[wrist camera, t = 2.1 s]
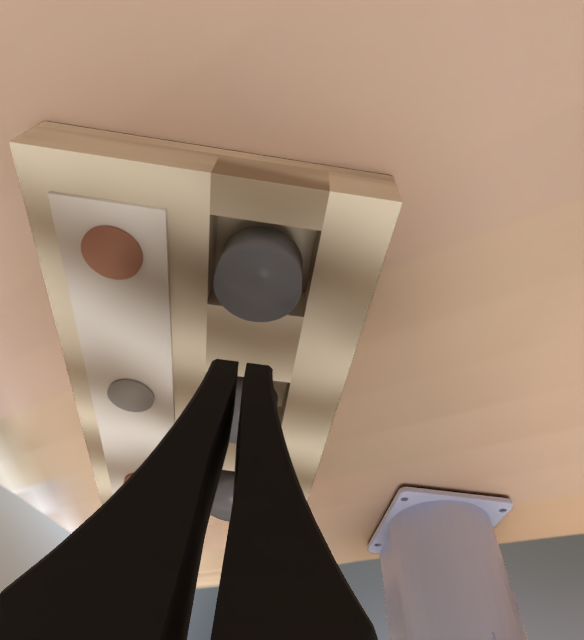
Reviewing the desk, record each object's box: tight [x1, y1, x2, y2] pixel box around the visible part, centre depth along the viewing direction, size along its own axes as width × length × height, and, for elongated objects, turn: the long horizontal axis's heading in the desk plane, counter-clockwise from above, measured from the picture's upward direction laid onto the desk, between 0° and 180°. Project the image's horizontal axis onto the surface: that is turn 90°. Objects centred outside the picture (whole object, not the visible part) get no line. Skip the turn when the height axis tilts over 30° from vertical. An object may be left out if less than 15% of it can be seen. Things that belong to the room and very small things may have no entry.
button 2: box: [210, 470, 235, 521], centre depth 27 cm, size 3×3×2 cm
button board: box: [9, 121, 402, 515], centre depth 23 cm, size 23×13×3 cm, turn 172°
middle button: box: [229, 376, 278, 444], centre depth 22 cm, size 3×3×2 cm
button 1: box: [213, 226, 303, 322], centre depth 17 cm, size 3×3×2 cm
